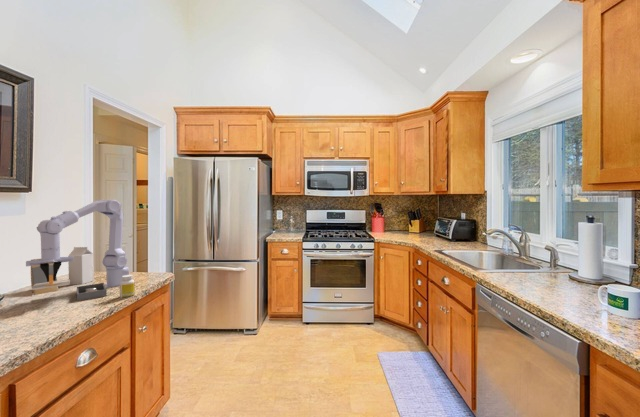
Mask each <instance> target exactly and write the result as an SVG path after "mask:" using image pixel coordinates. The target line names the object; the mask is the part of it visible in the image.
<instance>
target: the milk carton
mask: <svg viewBox="0 0 640 417" xmlns="http://www.w3.org/2000/svg"><path fill="white" fill-rule="evenodd" d="M72 256H74V261H73V262H71V261H70V262H67V264H68V279H70V284H69V285H71V286H72V285H74V286H75V285H76V286H77V285H80V286H83V285H85V284H88V283H91V282H93V281H94V254H93V252H92V251H90V250H89V249H88V246H78V247H77V246H73V250H72V251H71V252H70V253H69V255H67V257H72Z"/></svg>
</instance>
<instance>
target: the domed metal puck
mask: <svg viewBox="0 0 640 417" xmlns="http://www.w3.org/2000/svg"><path fill="white" fill-rule="evenodd" d="M85 290H86V291H92V290H97V287H90V288H86V289H85Z"/></svg>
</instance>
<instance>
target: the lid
mask: <svg viewBox="0 0 640 417" xmlns="http://www.w3.org/2000/svg"><path fill="white" fill-rule="evenodd" d="M69 284H70V279H69V278H68V279H62V280H57V281H53V275H49V282H46V283H39V284H35V285H33V286H32V287H31V291H32V290H36V289H42V288H49V287H56V286H58V287H61V286H68V285H69Z"/></svg>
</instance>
